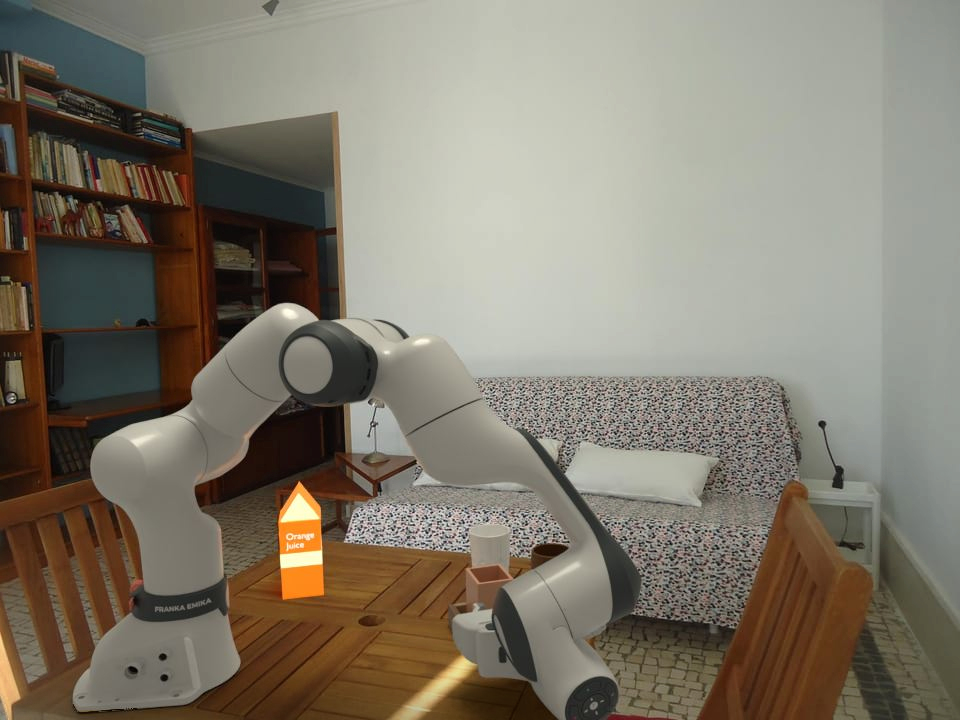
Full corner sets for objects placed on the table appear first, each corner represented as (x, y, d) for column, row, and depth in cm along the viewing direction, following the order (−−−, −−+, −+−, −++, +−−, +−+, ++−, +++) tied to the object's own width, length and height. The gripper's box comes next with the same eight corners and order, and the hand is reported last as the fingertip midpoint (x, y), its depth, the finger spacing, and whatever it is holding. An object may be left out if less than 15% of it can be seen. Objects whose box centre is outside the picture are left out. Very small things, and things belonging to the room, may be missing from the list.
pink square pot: (479, 646, 114) (477, 584, 113) (466, 626, 120) (465, 568, 120) (515, 640, 115) (514, 579, 115) (501, 621, 122) (500, 563, 121)
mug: (580, 619, 123) (579, 566, 122) (535, 621, 123) (534, 567, 122) (570, 591, 135) (570, 541, 134) (529, 592, 135) (528, 543, 134)
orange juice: (281, 599, 135) (276, 494, 133) (283, 581, 143) (278, 482, 141) (324, 594, 136) (319, 490, 135) (324, 577, 145) (319, 479, 143)
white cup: (486, 569, 147) (484, 521, 146) (519, 577, 142) (517, 527, 141) (462, 582, 140) (460, 532, 139) (496, 591, 136) (494, 539, 135)
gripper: (611, 608, 99) (569, 572, 113) (467, 633, 93) (441, 592, 107) (612, 652, 100) (570, 611, 113) (469, 680, 94) (443, 634, 107)
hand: (507, 602), depth 110 cm, fingers open, 8 cm apart
